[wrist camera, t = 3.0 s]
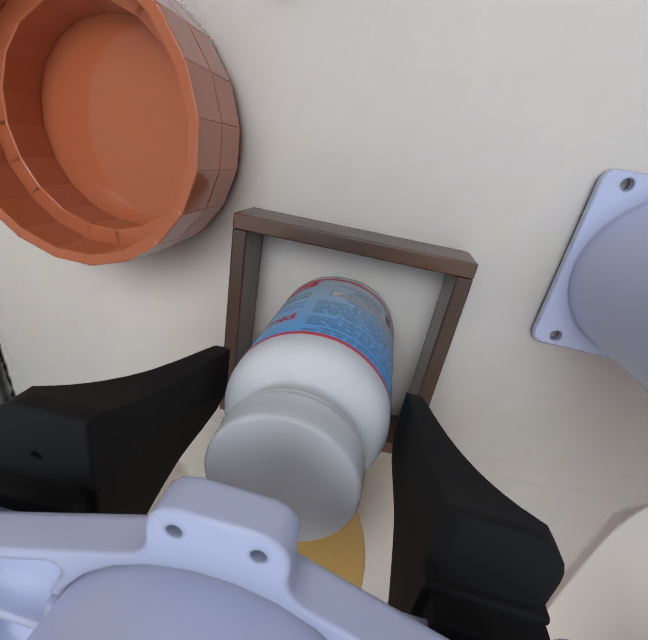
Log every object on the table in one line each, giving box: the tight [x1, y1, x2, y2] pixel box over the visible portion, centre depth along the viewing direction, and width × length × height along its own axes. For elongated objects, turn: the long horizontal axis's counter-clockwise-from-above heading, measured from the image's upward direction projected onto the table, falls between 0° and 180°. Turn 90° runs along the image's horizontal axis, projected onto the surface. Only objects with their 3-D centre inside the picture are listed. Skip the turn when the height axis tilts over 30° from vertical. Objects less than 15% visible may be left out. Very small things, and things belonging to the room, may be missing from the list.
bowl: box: [0, 0, 240, 265], centre depth 17 cm, size 12×12×4 cm
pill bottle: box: [205, 277, 393, 541], centre depth 16 cm, size 6×6×11 cm
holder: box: [220, 207, 478, 454], centre depth 20 cm, size 11×11×2 cm
